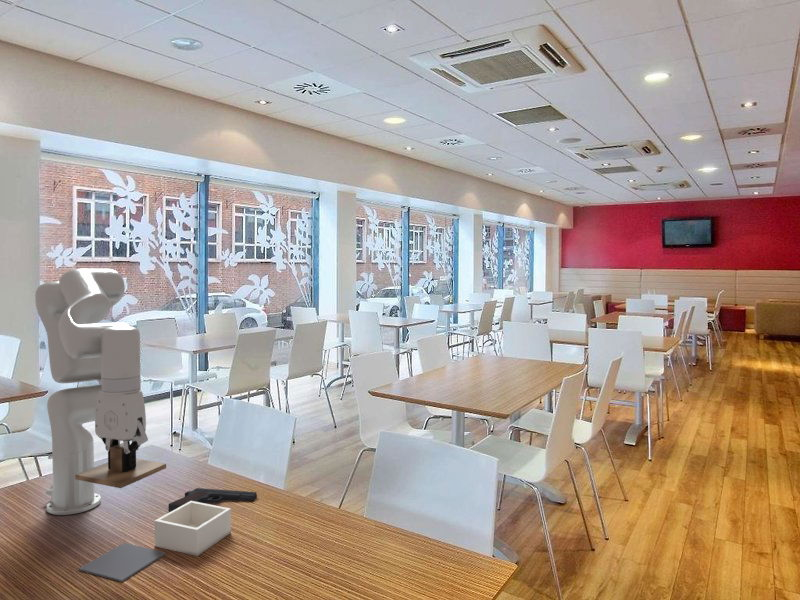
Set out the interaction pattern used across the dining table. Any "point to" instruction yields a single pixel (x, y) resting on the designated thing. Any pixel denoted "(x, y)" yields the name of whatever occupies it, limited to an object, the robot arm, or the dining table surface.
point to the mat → (122, 562)
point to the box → (192, 527)
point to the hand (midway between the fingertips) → (122, 467)
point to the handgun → (212, 497)
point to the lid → (119, 470)
